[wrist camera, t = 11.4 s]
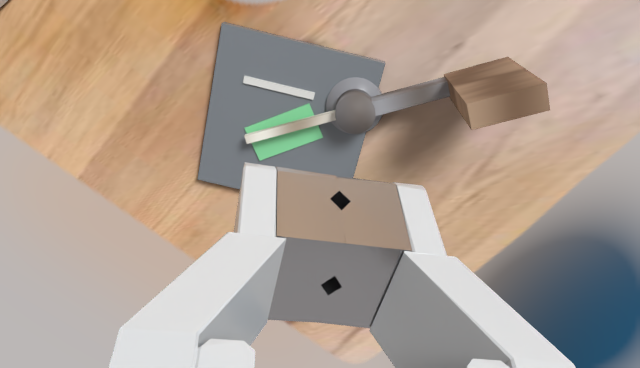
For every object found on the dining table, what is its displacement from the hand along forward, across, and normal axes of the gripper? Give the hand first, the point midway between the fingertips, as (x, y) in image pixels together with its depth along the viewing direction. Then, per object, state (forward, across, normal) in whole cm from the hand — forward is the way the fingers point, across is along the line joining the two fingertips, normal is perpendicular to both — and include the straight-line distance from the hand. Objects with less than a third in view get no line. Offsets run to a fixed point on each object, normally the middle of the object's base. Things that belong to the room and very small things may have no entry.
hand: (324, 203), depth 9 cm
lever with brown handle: (+32, -9, +16) cm, 37 cm away
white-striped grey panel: (+33, -3, +20) cm, 39 cm away
